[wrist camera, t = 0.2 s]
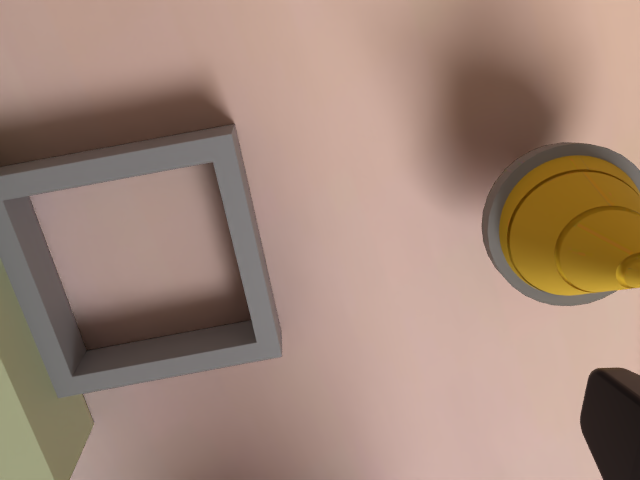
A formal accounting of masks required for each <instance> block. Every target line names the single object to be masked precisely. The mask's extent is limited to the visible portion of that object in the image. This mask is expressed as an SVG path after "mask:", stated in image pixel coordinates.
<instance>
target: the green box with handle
mask: <svg viewBox="0 0 640 480" xmlns="http://www.w3.org/2000/svg"><path fill="white" fill-rule="evenodd" d="M211 162H213V164H214V169H215V173H216V177H217V181H218V185H219V189H220V193H221V197H222V201H223V205H224V210H225V214H226V218H227V222H228V226H229V230H230V234H231V238H232V242H233V247H234V251H235V255H236V259H237V263H238V267H239V271H240V275H241V279H242V283H243V288H244V292H245V296H246V300H247V304H248V308H249V312H250V316H251V320H250V321H245V322H239V323H234V324H229V325H223V326H218V327H212V328H207V329H202V330H196V331H191V332H185V333H180V334H175V335H169V336H164V337H159V338H153V339H148V340H142V341H137V342H132V343H126V344H121V345H115V346H110V347H105V348H99V349H94V350H89V351H86V348H85V345H84V343H83V340H82V337H81V335H80V332H79V329H78V327H77V324H76V321H75V319H74V316H73V313H72V311H71V308H70V305H69V303H68V300H67V297H66V295H65V292H64V289H63V287H62V284H61V281H60V279H59V276H58V273H57V271H56V268H55V265H54V263H53V260H52V257H51V255H50V252H49V249H48V247H47V244H46V241H45V239H44V236H43V233H42V231H41V228H40V225H39V223H38V220H37V217H36V215H35V212H34V209H33V207H32V204H31V201H30V199H29V196H31V195H37V194H42V193H47V192H53V191H58V190H64V189H69V188H75V187H80V186H86V185H91V184H96V183H102V182H107V181H113V180H118V179H124V178H129V177H135V176H140V175H145V174H151V173H156V172H162V171H167V170H173V169H178V168H184V167H189V166H194V165H200V164H205V163H211ZM278 357H282V333H281V328H280V323H279V319H278V315H277V310H276V306H275V301H274V297H273V292H272V288H271V283H270V279H269V274H268V270H267V265H266V261H265V256H264V252H263V247H262V243H261V238H260V234H259V229H258V225H257V221H256V216H255V212H254V207H253V203H252V198H251V194H250V189H249V185H248V180H247V176H246V171H245V167H244V162H243V158H242V153H241V149H240V144H239V140H238V135H237V131H236V127H235V124H232V125H227V126H221V127H216V128H210V129H205V130H199V131H194V132H188V133H183V134H177V135H172V136H166V137H161V138H156V139H150V140H145V141H139V142H134V143H128V144H123V145H117V146H112V147H106V148H101V149H95V150H90V151H85V152H79V153H74V154H68V155H63V156H57V157H52V158H46V159H41V160H35V161H30V162H25V163H19V164H14V165H8V166H3V167H0V480H70V478H71V475H72V473H73V471H74V469H75V466H76V464H77V462H78V459H79V457H80V455H81V453H82V450H83V448H84V446H85V443H86V441H87V439H88V437H89V434H90V432H91V430H92V427H93V425H94V422H93V420H92V417H91V415H90V412H89V410H88V407H87V404H86V402H85V399H84V397H83V394H84V393H90V392H95V391H100V390H106V389H111V388H117V387H122V386H127V385H133V384H138V383H143V382H149V381H154V380H160V379H165V378H170V377H176V376H181V375H186V374H192V373H197V372H202V371H208V370H213V369H219V368H224V367H229V366H235V365H240V364H245V363H251V362H256V361H261V360H267V359H272V358H278Z"/></svg>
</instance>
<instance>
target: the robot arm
mask: <svg viewBox="0 0 640 480" xmlns="http://www.w3.org/2000/svg"><path fill="white" fill-rule="evenodd" d="M580 424H581V429H582V433H583V435H584V438H585V440H586V442H587V444H588V447H589V449H590V451H591V453H592V456H593V458H594V460H595V462H596V464H597V467H598V469H599V471H600V473H601V476H602V478H603V480H640V375H638V374H636V373H633V372H631V371H629V370H627V369H624V368H597V369H595V370H593V371H592V372H591V373H590V375H589V378H588V382H587V386H586V391H585V396H584V401H583V405H582V410H581V416H580Z"/></svg>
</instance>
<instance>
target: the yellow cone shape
mask: <svg viewBox="0 0 640 480" xmlns="http://www.w3.org/2000/svg"><path fill="white" fill-rule="evenodd" d="M482 234H483V242H484V245H485V248H486V251H487V254H488V256H489V258H490V259H491V261H492V263H493V265H494V266H495V268H496V269H497V270H498V271H499V272H500V273H501V274H502V276H503V277H504V278H505V279H506V280H507V281H508V282H509V283H510V284H511V285H512V286H513V287H514V288H515V289H517V290H518V291H520V292H521V293H522V294H524V295H525V296H527V297H530V298H532V299H534V300H536V301H539V302H542V303H547V304H551V305H558V306H574V305H582V304H588V303H591V302H594V301H597V300H600V299H603V298H605V297H606V296H608V295H610V294H612V293H614V292H616V291H617V290H623V289H631V288H639V287H640V170H639V169H638V168H637V167H636V166H635V165H634V164H633V163H632V162H630V161H629V160H628V159H626V158H625V157H624V156H622V155H621V154H618V153H616V152H614V151H612V150H610V149H608V148H604V147H600V146H596V145H591V144H584V143H557V144H551V145H546V146H543V147H540V148H537V149H535V150H532V151H530V152H528V153H527V154H525V155H523V156H521V157H520V158H518V159H517V160H515V161H514V162H513V163H512V164H511V165H510V166H509V167H507V168H506V169H505V170H504V171H503V173H502V174H501V175H500V176H499V178H498V179H497V180H496V182H495V183H494V185H493V187H492V189H491V191H490V192H489V194H488V196H487V199H486V203H485V206H484V210H483V217H482Z"/></svg>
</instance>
